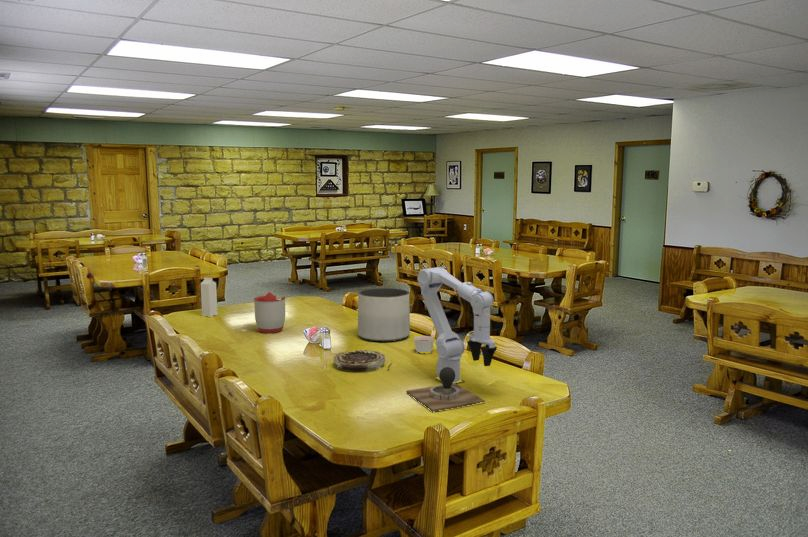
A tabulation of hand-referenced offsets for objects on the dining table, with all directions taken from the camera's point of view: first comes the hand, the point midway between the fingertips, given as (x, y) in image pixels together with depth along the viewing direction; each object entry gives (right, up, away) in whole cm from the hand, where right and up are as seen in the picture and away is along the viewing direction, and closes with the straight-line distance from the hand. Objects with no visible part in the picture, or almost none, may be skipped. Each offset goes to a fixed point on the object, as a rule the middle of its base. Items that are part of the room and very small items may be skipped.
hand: (481, 362), depth 213 cm
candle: (-19, -4, +51) cm, 54 cm away
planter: (-38, 0, +78) cm, 87 cm away
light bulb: (-13, -11, -6) cm, 18 cm away
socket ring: (-14, -11, -6) cm, 19 cm away
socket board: (-14, -11, -6) cm, 19 cm away
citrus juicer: (-95, +2, +89) cm, 131 cm away
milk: (-138, +7, +122) cm, 184 cm away
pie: (-47, -7, +32) cm, 57 cm away
